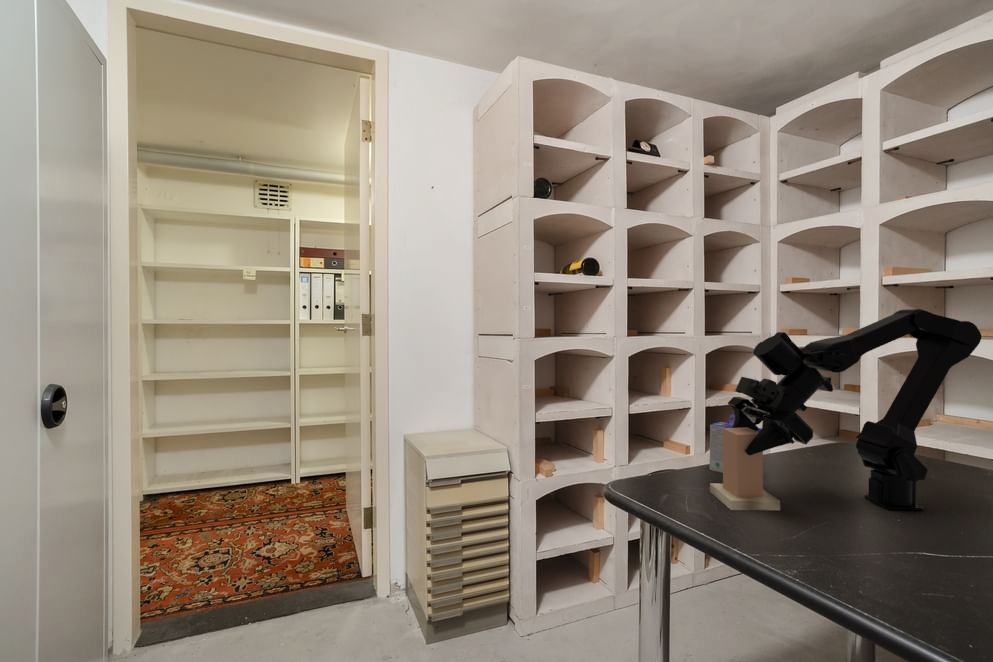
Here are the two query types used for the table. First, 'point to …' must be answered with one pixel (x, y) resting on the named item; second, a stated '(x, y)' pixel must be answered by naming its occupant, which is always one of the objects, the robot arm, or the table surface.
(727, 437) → the column
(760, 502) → the top slab
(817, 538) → the table surface
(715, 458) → the ink cartridge box
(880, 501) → the robot arm
